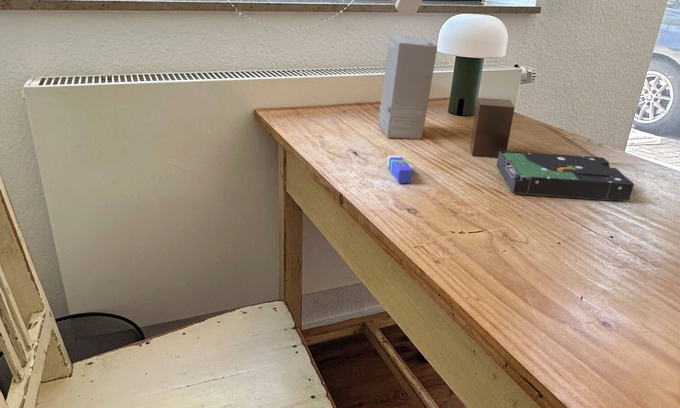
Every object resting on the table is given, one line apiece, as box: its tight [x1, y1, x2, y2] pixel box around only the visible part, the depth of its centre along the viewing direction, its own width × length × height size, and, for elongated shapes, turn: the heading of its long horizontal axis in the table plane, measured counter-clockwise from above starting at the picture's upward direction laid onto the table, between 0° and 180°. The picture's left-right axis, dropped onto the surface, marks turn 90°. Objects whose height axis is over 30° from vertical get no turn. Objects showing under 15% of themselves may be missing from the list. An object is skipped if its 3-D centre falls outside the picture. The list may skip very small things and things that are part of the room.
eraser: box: [387, 154, 414, 184], centre depth 69 cm, size 2×6×2 cm, turn 8°
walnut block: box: [469, 97, 515, 159], centre depth 79 cm, size 5×5×8 cm
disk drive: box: [496, 150, 635, 201], centre depth 69 cm, size 10×3×15 cm
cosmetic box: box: [377, 34, 438, 140], centre depth 86 cm, size 8×7×16 cm
